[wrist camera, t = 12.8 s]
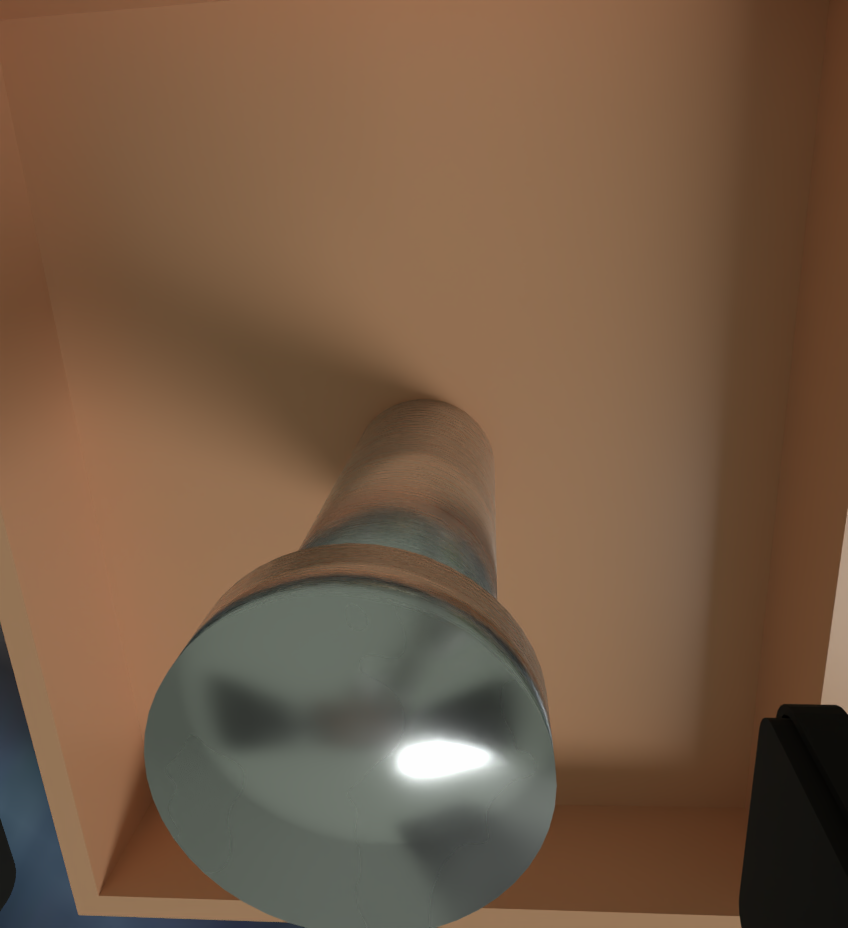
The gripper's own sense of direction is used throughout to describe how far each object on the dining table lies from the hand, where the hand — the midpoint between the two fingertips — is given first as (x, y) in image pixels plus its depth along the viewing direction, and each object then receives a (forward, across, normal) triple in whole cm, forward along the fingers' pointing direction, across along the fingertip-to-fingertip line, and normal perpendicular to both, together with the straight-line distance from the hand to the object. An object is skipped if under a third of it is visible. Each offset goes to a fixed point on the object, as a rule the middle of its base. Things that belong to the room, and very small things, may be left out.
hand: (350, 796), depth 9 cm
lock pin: (+13, 0, +1) cm, 13 cm away
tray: (+14, +1, +1) cm, 14 cm away
